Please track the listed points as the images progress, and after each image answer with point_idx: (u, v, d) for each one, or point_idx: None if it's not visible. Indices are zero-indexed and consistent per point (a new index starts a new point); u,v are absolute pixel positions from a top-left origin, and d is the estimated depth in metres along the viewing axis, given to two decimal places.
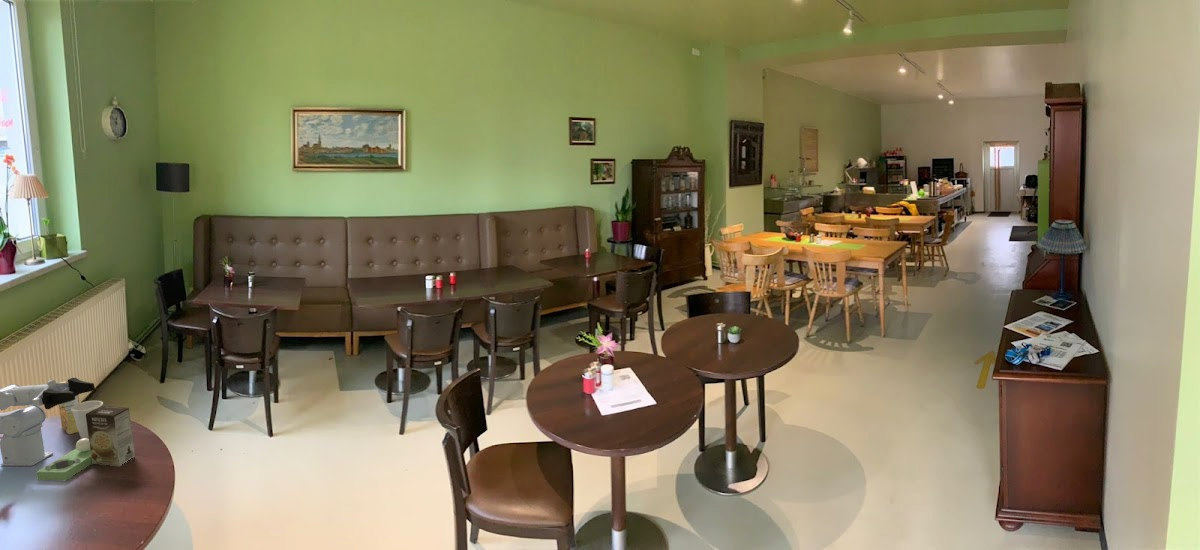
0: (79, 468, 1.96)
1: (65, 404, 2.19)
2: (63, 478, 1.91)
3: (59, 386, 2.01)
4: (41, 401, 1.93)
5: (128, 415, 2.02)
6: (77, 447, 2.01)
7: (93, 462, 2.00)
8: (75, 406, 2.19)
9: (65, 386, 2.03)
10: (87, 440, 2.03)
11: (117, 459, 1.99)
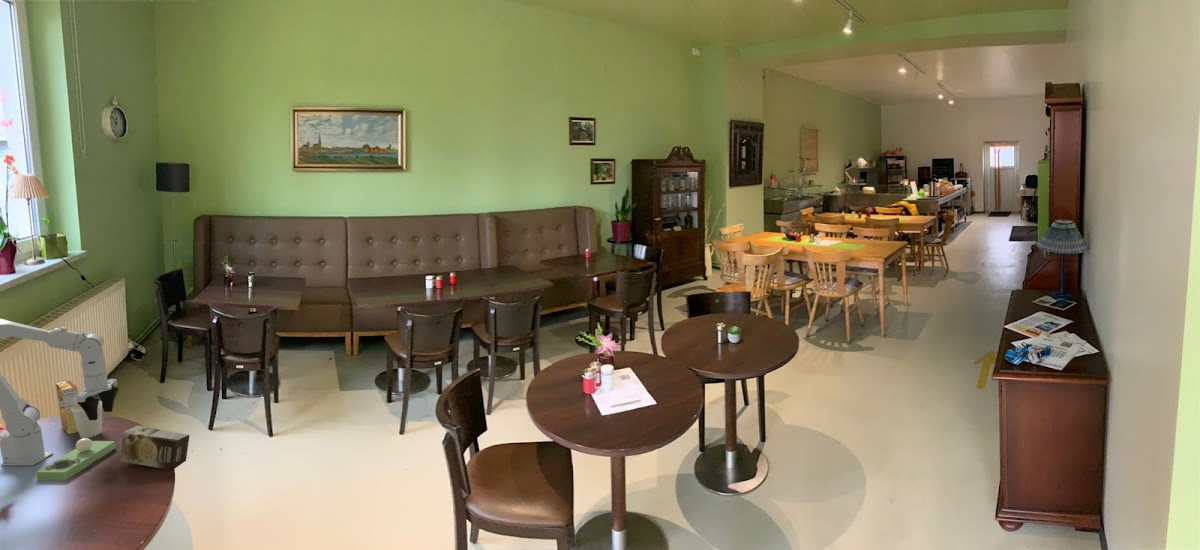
0: (79, 468, 1.96)
1: (65, 404, 2.19)
2: (63, 478, 1.91)
3: None
4: None
5: None
6: (77, 447, 2.01)
7: (125, 434, 1.98)
8: (75, 406, 2.19)
9: None
10: (87, 440, 2.03)
11: (127, 461, 1.99)
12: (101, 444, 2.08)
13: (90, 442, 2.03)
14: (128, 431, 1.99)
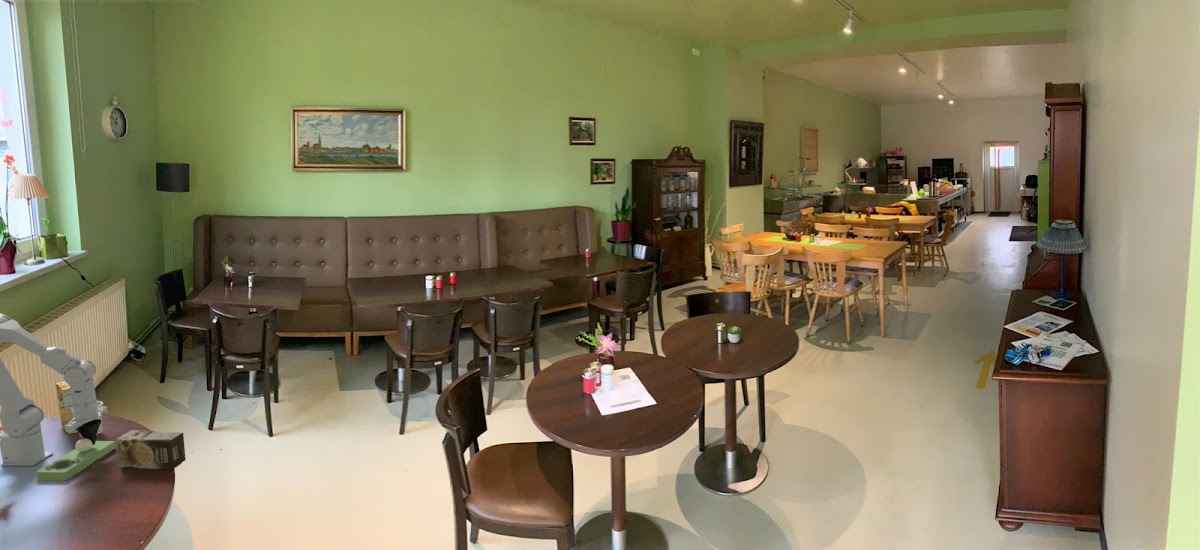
0: (79, 468, 1.96)
1: (65, 404, 2.19)
2: (63, 478, 1.91)
3: None
4: None
5: None
6: (77, 448, 2.01)
7: (119, 441, 1.97)
8: None
9: None
10: (87, 441, 2.03)
11: (127, 466, 1.99)
12: (101, 444, 2.08)
13: (90, 442, 2.03)
14: (121, 437, 1.98)
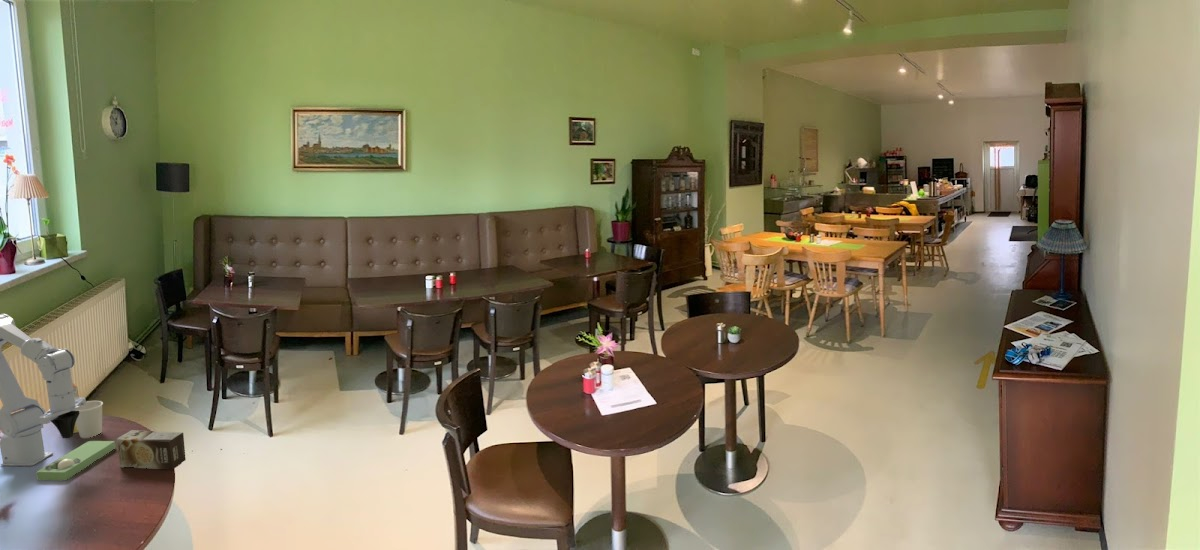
0: (79, 468, 1.96)
1: None
2: (63, 478, 1.91)
3: None
4: None
5: None
6: None
7: (119, 441, 1.97)
8: None
9: None
10: None
11: (127, 466, 1.99)
12: (101, 444, 2.08)
13: None
14: (121, 437, 1.98)
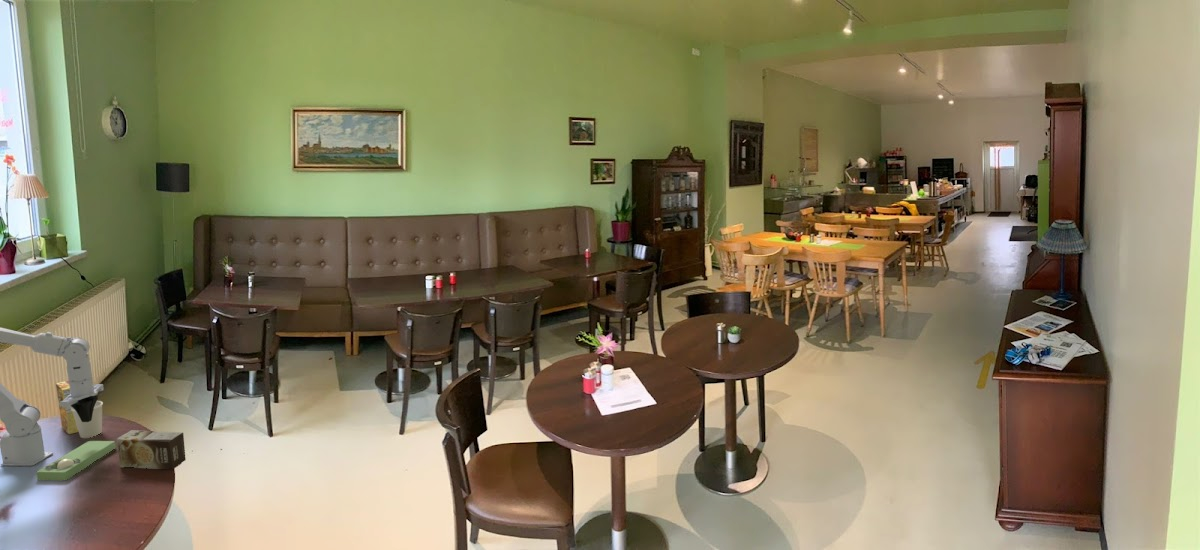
0: (79, 468, 1.96)
1: None
2: (63, 478, 1.91)
3: None
4: None
5: None
6: None
7: (119, 441, 1.97)
8: None
9: None
10: None
11: (127, 466, 1.99)
12: (101, 444, 2.08)
13: None
14: (121, 437, 1.98)
